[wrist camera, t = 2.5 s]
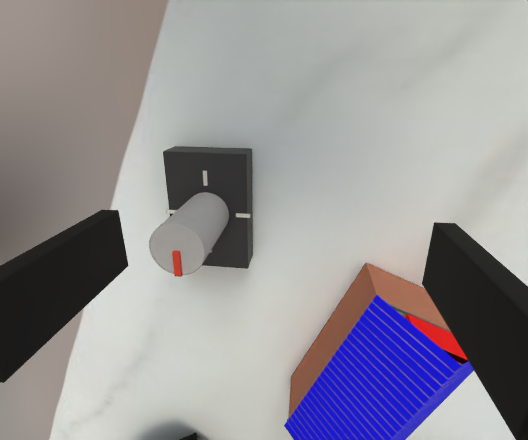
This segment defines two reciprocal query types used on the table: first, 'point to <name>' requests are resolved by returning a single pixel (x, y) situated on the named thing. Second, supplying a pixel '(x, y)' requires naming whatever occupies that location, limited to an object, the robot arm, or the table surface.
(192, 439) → the baking dish
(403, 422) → the house
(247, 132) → the table surface
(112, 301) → the table surface
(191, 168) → the timer panel
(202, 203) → the timer dial
